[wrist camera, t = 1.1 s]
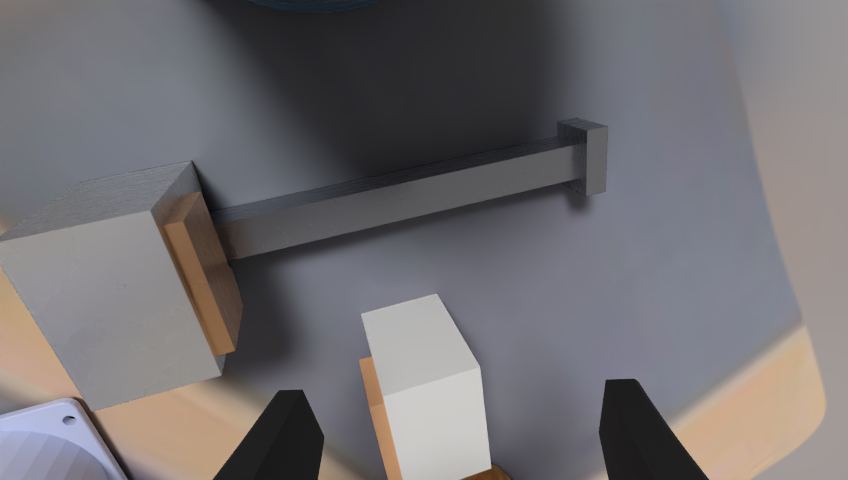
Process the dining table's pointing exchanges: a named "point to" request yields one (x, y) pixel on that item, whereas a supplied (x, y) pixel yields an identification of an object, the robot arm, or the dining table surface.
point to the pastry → (489, 474)
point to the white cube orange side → (424, 393)
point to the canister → (313, 5)
